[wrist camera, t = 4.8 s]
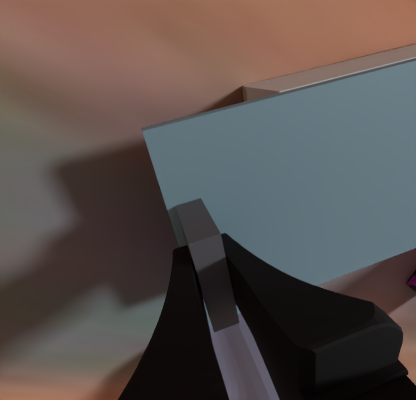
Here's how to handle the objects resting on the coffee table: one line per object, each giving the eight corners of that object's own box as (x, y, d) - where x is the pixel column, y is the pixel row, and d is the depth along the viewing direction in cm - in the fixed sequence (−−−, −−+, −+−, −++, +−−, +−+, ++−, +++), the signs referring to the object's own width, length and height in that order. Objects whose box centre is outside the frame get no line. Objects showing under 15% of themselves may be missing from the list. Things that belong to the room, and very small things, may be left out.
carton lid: (201, 319, 16) (219, 378, 13) (141, 127, 11) (146, 152, 7) (441, 230, 19) (502, 262, 16) (497, 37, 13) (613, 26, 10)
